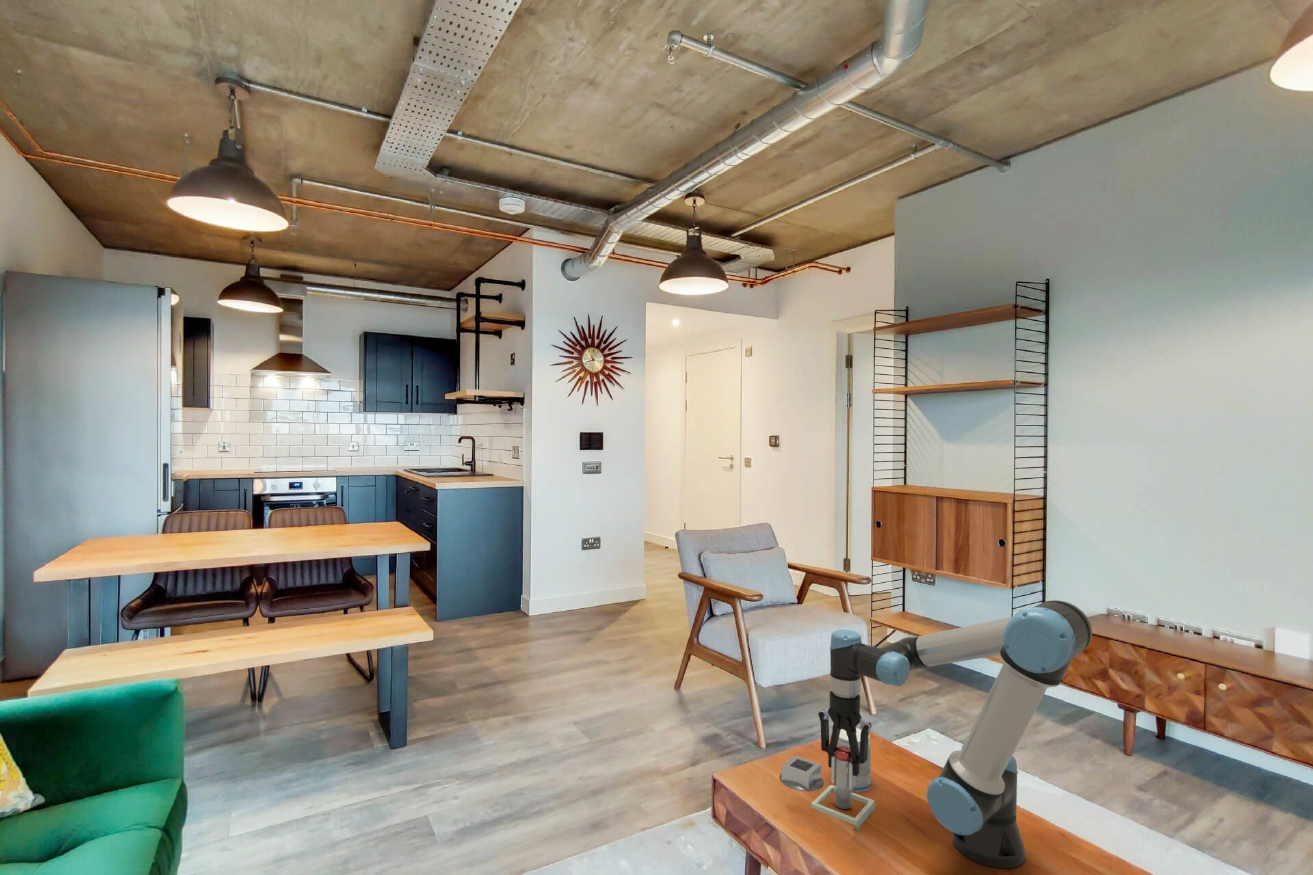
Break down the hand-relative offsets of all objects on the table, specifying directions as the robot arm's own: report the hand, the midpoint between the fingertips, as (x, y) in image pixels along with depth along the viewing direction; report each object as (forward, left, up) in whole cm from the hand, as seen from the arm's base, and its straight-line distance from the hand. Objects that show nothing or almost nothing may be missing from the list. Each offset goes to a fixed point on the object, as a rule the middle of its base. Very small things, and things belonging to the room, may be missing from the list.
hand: (843, 783), depth 165 cm
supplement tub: (+3, -13, -7) cm, 15 cm away
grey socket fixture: (+14, -5, -7) cm, 17 cm away
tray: (0, 0, -7) cm, 7 cm away
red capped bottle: (0, 0, -5) cm, 5 cm away
